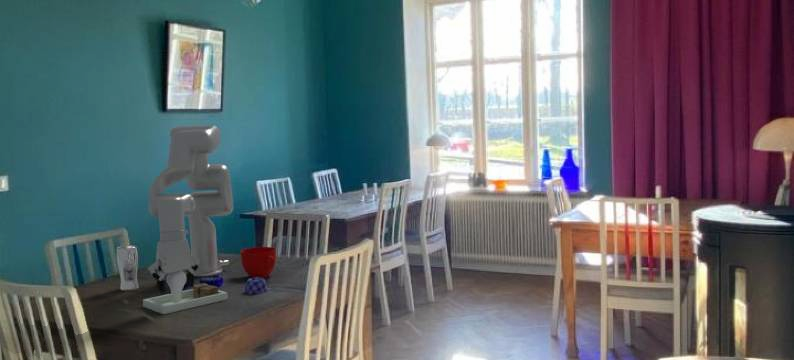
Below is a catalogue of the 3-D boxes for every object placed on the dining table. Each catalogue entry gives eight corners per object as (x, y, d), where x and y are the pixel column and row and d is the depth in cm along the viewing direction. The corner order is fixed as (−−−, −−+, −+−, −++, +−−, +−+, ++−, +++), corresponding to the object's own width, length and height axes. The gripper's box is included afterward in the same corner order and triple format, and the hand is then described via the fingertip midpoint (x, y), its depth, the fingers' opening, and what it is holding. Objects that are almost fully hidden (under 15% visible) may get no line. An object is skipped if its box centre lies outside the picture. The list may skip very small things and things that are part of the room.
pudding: (240, 291, 246) (239, 276, 245) (275, 288, 247) (274, 274, 247) (236, 300, 234) (235, 284, 233) (273, 297, 235) (273, 282, 235)
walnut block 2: (210, 297, 234) (209, 285, 233) (218, 298, 231) (217, 286, 231) (200, 300, 231) (200, 288, 230) (208, 301, 228) (208, 289, 228)
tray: (206, 294, 241) (205, 286, 240) (227, 301, 231) (227, 292, 230) (143, 308, 225) (142, 299, 225) (163, 316, 215) (163, 307, 215)
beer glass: (132, 291, 250) (129, 249, 248) (115, 290, 251) (111, 248, 250) (143, 286, 257) (140, 245, 255) (126, 286, 258) (123, 245, 257)
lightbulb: (190, 302, 228) (190, 268, 228) (178, 306, 223) (178, 271, 223) (174, 301, 230) (174, 267, 230) (162, 304, 225) (162, 270, 225)
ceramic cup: (258, 284, 254) (257, 256, 253) (235, 277, 266) (233, 250, 266) (289, 277, 262) (288, 250, 261) (265, 271, 275) (264, 245, 274)
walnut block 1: (205, 294, 237) (204, 283, 237) (209, 297, 234) (209, 285, 234) (193, 297, 235) (192, 285, 235) (198, 299, 232) (197, 287, 232)
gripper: (192, 231, 233) (195, 282, 234) (140, 238, 221) (144, 293, 222) (203, 233, 227) (206, 285, 229) (151, 241, 215) (155, 296, 217)
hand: (176, 289), depth 225 cm, fingers open, 9 cm apart
